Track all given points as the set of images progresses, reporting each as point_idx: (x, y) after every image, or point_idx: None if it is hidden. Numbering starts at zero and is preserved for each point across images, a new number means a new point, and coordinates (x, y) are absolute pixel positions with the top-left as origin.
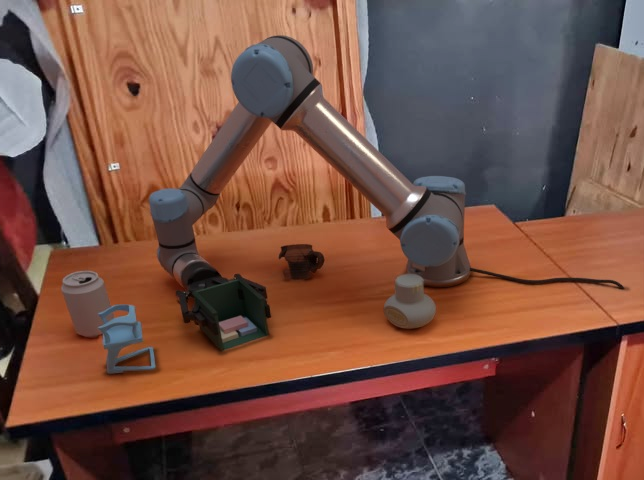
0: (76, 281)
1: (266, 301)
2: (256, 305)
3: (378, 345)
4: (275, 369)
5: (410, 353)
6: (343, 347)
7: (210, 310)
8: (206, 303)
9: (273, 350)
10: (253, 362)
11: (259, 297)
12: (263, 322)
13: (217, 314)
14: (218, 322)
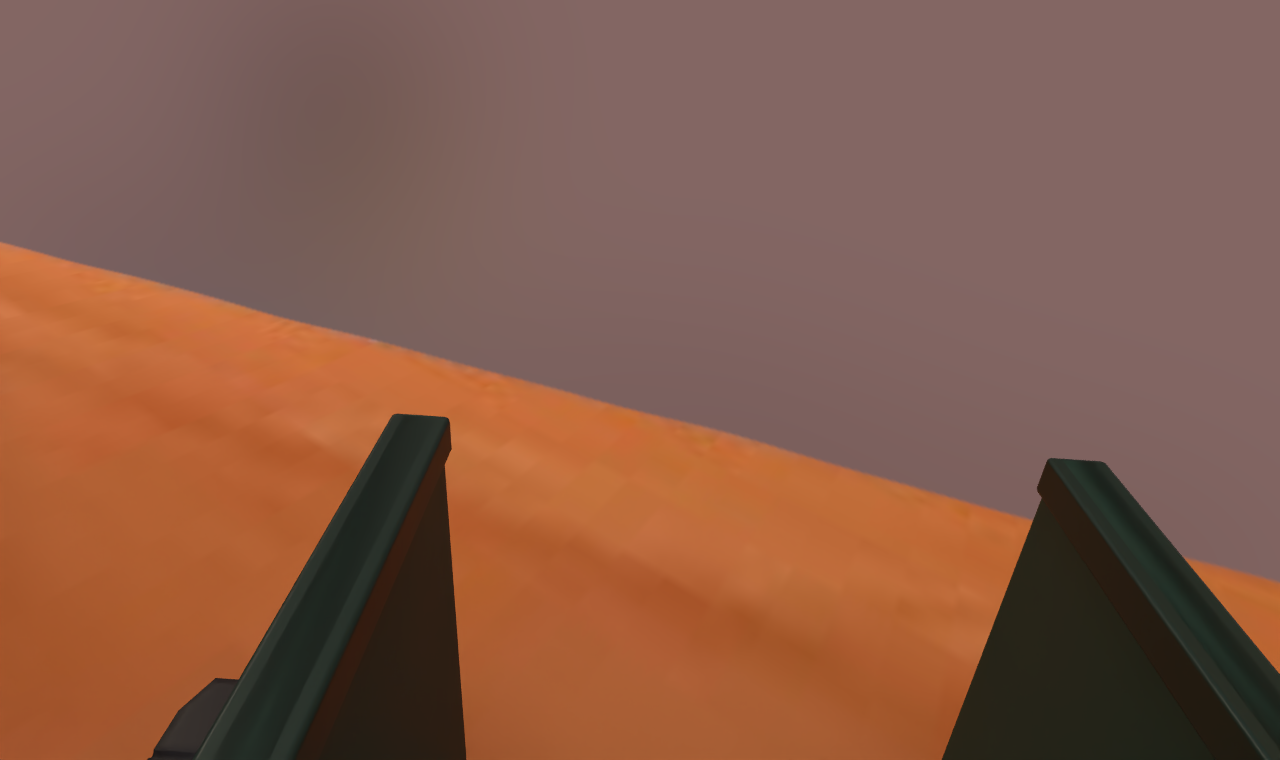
0: None
1: (224, 691)
2: (401, 701)
3: (117, 371)
4: (657, 482)
5: (125, 298)
6: (232, 434)
7: (1151, 523)
8: (1272, 720)
9: (549, 622)
10: (739, 591)
11: (421, 444)
12: (454, 704)
13: (1041, 479)
14: (1015, 569)
